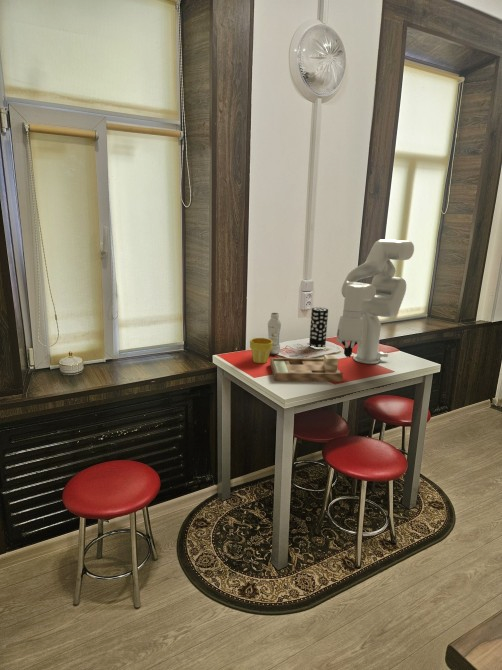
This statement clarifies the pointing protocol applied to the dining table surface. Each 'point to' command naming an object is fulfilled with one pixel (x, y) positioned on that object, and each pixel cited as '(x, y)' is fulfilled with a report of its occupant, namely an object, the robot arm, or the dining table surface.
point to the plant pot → (260, 349)
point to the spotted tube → (318, 327)
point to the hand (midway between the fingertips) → (347, 356)
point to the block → (330, 362)
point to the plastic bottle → (274, 332)
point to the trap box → (302, 370)
